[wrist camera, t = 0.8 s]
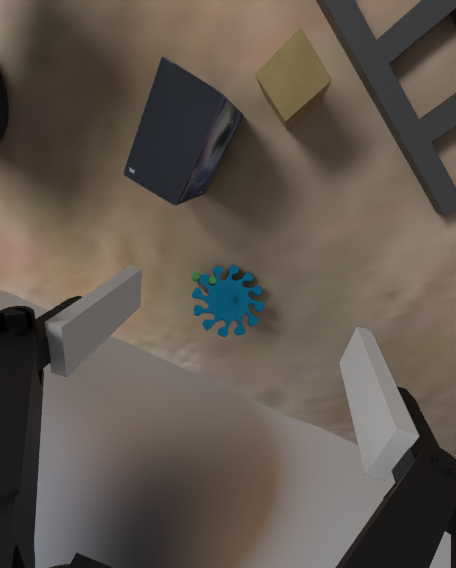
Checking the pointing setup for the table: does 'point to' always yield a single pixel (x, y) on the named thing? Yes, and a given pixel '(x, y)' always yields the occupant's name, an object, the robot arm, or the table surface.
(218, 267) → the gear
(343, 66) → the table surface
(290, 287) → the table surface
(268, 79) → the olive yellow block
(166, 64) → the small box
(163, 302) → the table surface
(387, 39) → the grey flat frame
